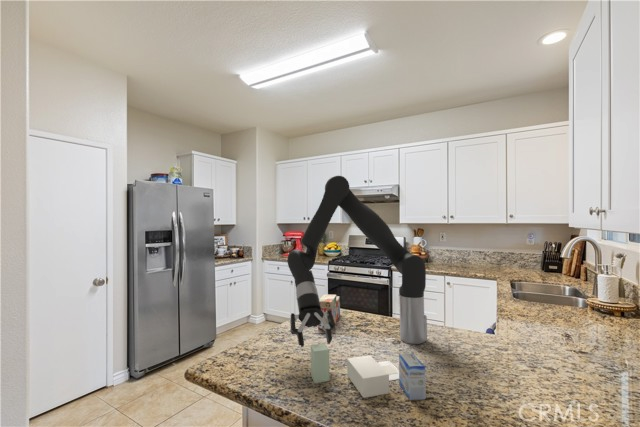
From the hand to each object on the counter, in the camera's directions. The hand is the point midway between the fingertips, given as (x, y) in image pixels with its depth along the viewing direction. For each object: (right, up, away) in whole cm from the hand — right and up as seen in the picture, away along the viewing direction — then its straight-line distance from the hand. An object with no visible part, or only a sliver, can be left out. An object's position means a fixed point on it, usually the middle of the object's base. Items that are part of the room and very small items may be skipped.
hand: (316, 344), depth 91 cm
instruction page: (+22, -8, 0) cm, 23 cm away
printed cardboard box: (+6, -10, +47) cm, 48 cm away
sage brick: (+1, -8, -4) cm, 9 cm away
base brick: (+15, -8, -7) cm, 18 cm away
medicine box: (+26, -8, -11) cm, 30 cm away
